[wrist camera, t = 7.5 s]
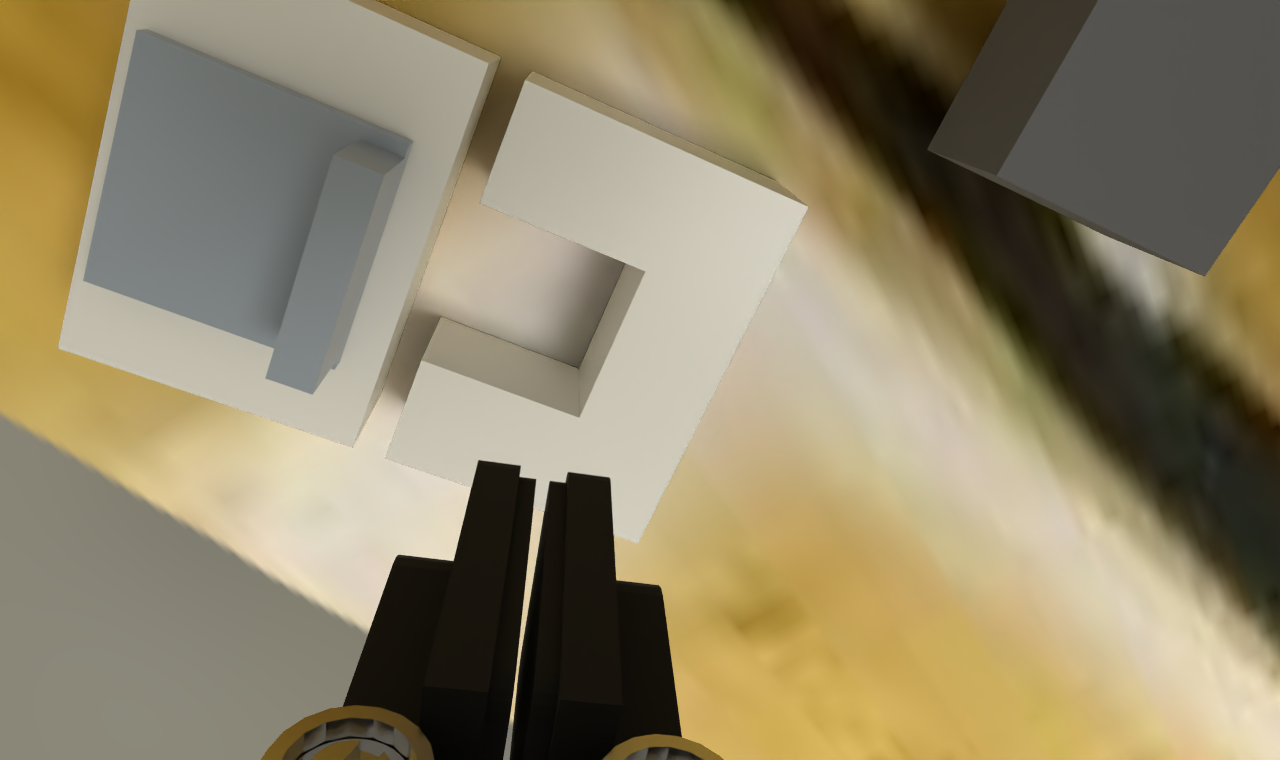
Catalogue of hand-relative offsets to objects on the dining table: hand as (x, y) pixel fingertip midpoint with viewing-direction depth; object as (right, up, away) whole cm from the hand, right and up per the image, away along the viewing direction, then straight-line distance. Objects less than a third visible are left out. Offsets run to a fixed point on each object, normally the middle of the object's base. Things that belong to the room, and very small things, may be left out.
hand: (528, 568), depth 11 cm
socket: (-5, +7, +17) cm, 19 cm away
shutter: (-9, +7, +12) cm, 17 cm away
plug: (+14, +12, +16) cm, 24 cm away
